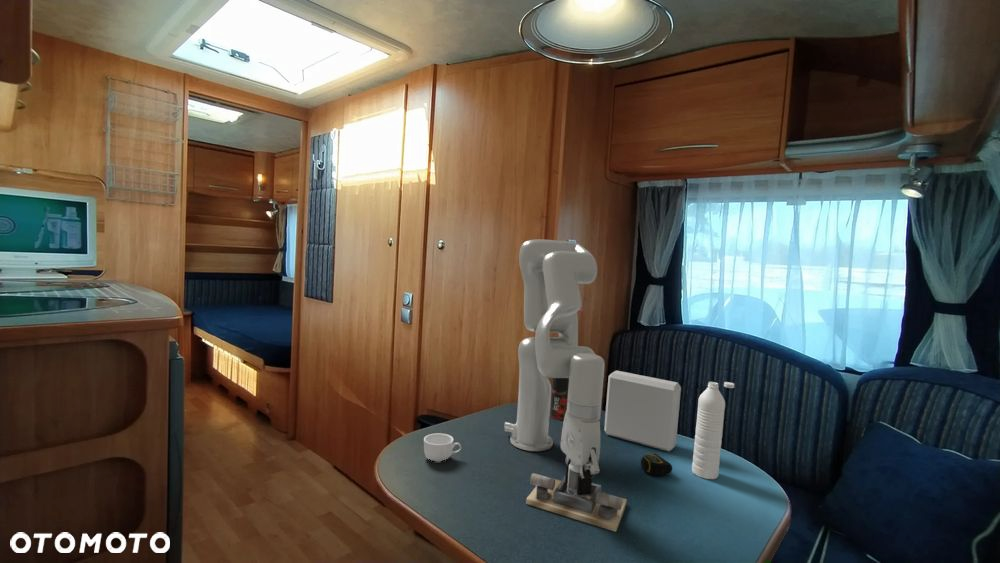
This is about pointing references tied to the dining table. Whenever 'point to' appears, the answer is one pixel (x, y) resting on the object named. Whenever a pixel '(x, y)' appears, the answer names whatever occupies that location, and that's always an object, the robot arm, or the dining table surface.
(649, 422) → the bevelled white case
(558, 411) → the deodorant
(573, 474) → the pill bottle
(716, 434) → the water bottle
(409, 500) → the dining table surface
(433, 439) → the teacup
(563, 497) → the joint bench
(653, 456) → the tape measure
